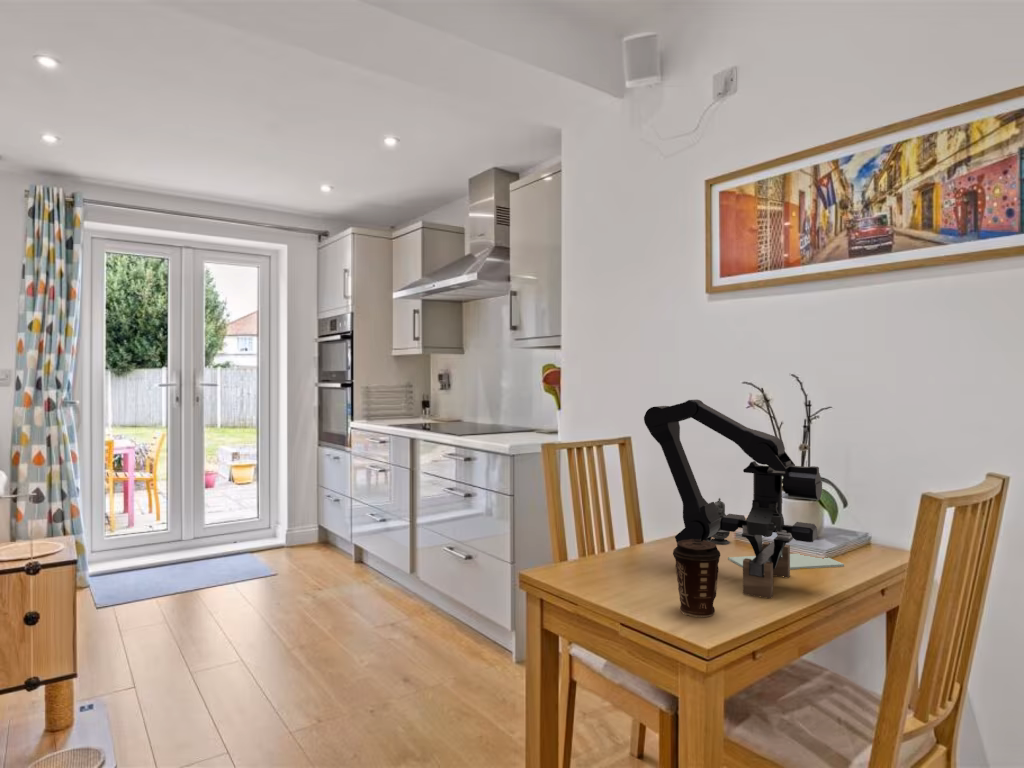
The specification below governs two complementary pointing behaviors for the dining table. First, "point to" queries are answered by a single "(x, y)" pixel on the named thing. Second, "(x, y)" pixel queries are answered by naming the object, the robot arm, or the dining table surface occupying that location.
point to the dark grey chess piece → (720, 535)
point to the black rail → (761, 561)
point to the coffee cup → (697, 576)
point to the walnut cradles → (765, 574)
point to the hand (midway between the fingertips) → (767, 567)
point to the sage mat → (797, 561)
